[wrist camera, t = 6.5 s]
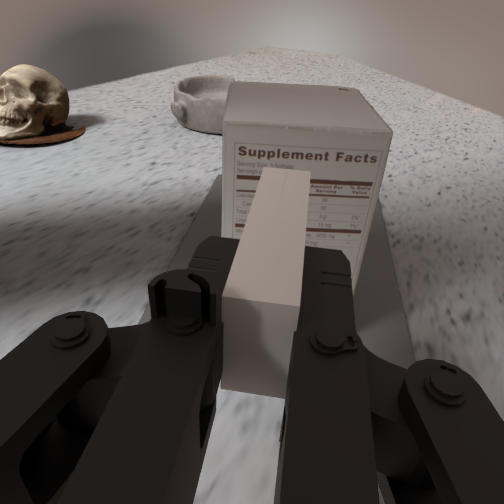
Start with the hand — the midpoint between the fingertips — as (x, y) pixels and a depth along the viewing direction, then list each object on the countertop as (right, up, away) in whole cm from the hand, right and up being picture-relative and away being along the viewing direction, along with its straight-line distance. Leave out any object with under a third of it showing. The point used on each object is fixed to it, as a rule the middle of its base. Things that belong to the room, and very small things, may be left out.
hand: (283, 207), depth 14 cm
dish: (-5, +17, +46) cm, 49 cm away
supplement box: (+1, -5, +13) cm, 14 cm away
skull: (-28, +13, +38) cm, 49 cm away
